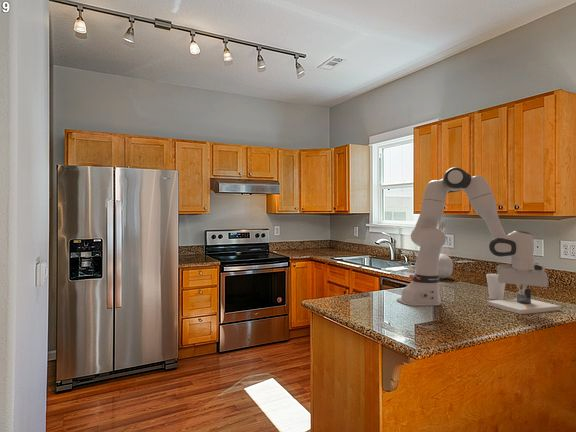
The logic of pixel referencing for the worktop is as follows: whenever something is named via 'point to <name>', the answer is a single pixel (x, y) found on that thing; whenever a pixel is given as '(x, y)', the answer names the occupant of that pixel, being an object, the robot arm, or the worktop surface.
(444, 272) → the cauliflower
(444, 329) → the worktop surface
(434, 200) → the robot arm
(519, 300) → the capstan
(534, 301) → the stand
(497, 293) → the foam cup
